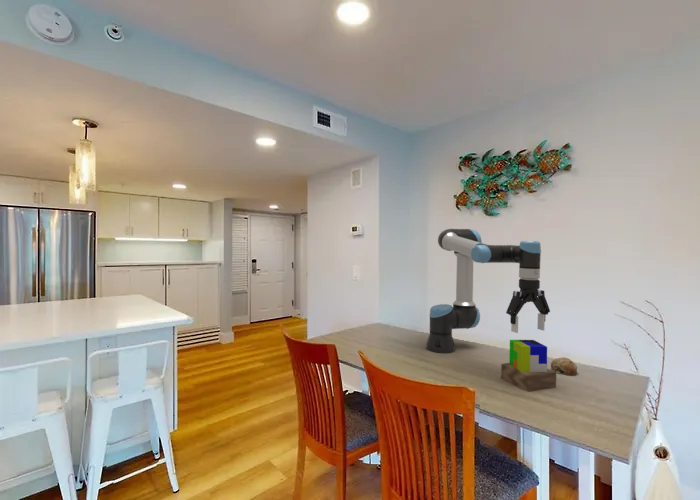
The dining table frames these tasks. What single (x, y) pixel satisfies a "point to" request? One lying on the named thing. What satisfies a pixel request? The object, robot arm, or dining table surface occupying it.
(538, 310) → the robot arm
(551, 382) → the walnut plinth
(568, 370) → the bread roll
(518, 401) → the dining table surface
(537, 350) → the puzzle toy
